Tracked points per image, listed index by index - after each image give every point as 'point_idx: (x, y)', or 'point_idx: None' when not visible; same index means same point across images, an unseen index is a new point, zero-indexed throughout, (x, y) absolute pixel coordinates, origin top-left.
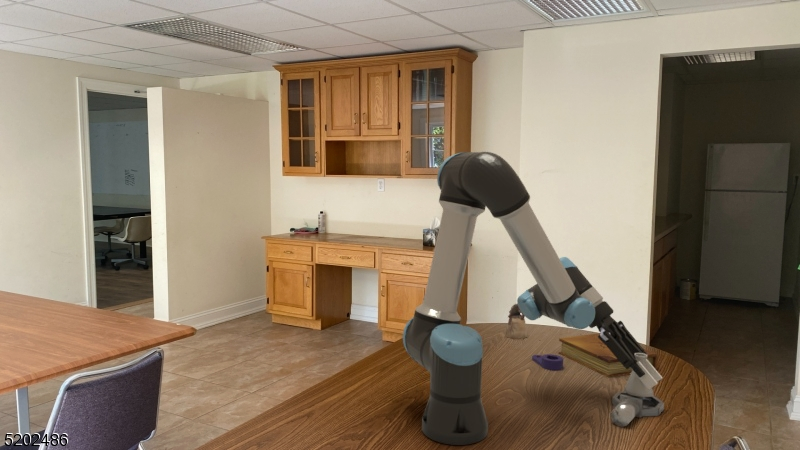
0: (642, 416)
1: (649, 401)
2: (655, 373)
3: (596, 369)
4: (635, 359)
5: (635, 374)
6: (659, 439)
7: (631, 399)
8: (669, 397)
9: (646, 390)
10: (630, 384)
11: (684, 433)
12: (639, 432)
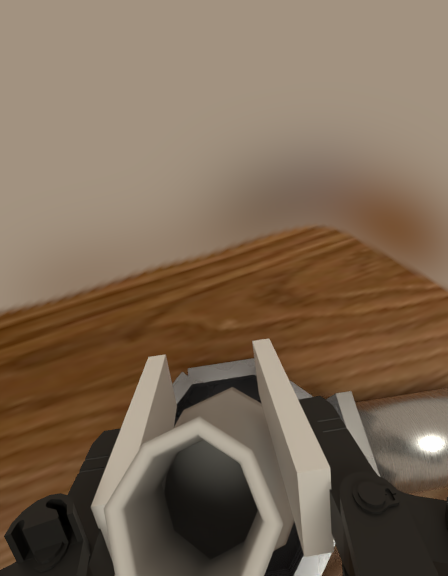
0: None
1: None
2: (160, 388)
3: None
4: (377, 501)
5: (277, 494)
6: (417, 294)
7: (384, 436)
8: (52, 409)
9: (259, 410)
10: (287, 511)
11: (314, 267)
12: (437, 353)
